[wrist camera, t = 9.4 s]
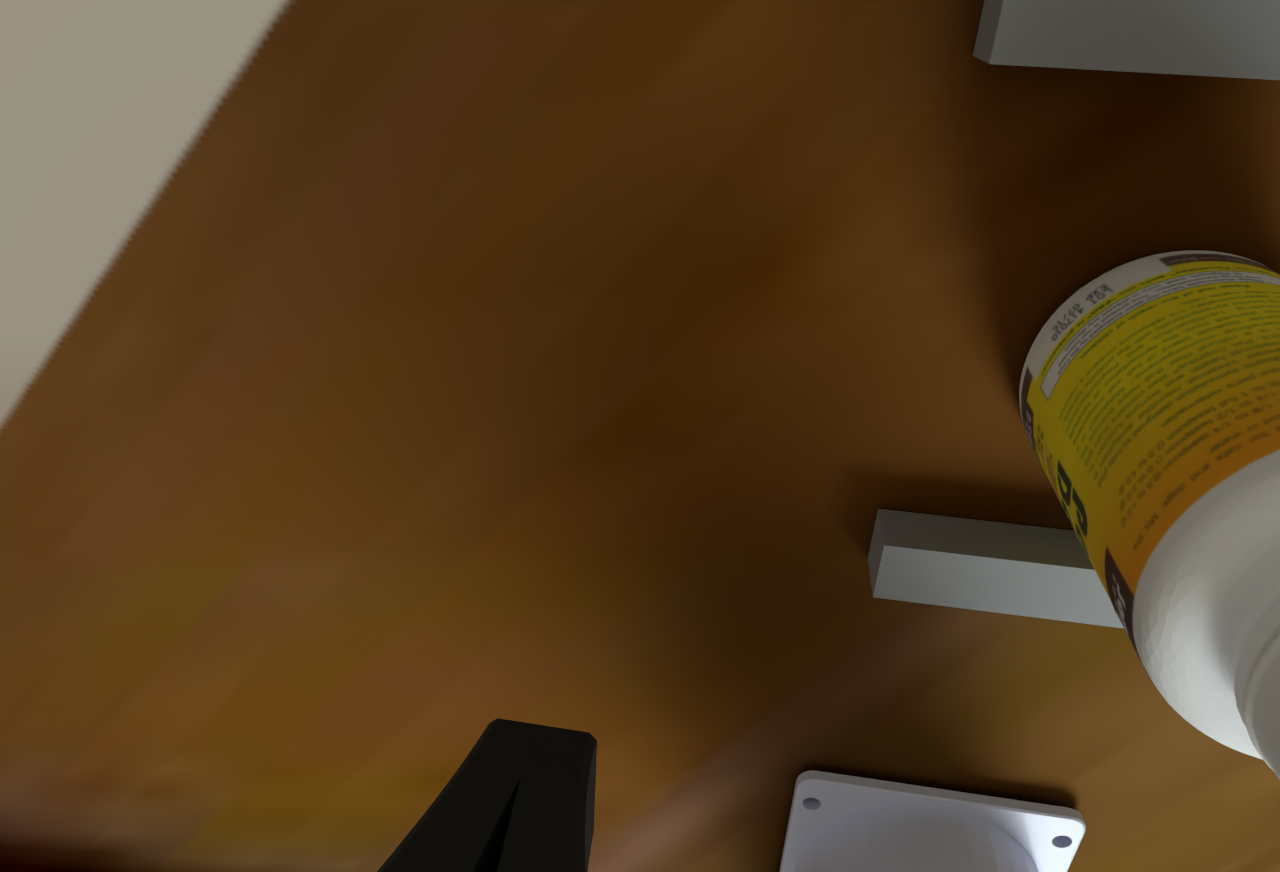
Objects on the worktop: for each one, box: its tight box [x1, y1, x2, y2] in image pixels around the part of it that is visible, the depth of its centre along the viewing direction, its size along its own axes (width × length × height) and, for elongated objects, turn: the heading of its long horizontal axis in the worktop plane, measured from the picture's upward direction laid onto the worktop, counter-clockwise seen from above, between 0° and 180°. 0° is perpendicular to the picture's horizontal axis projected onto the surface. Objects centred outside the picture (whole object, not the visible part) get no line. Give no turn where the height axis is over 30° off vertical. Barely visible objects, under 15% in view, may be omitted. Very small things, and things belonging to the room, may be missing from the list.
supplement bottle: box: [1019, 250, 1280, 779], centre depth 14 cm, size 6×6×10 cm
